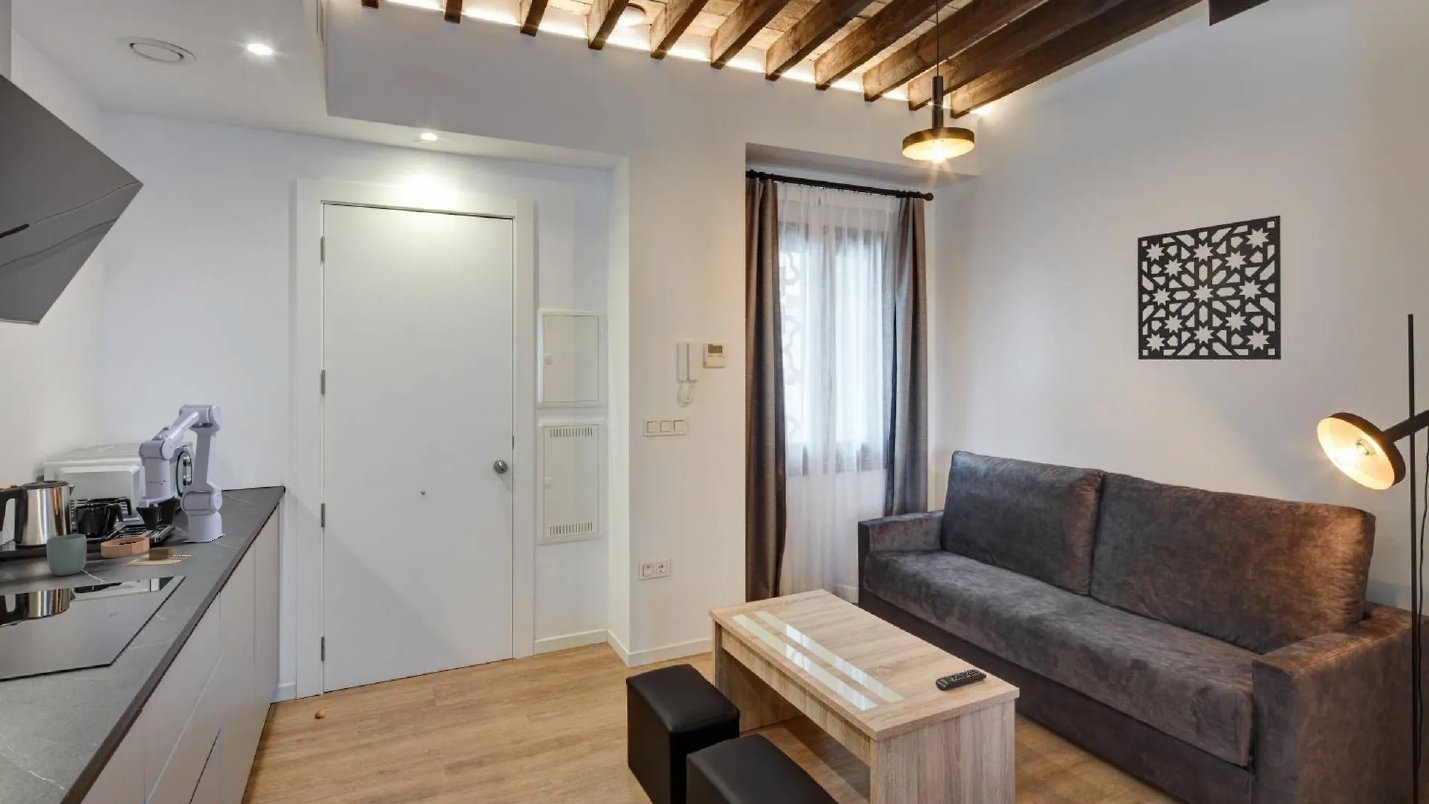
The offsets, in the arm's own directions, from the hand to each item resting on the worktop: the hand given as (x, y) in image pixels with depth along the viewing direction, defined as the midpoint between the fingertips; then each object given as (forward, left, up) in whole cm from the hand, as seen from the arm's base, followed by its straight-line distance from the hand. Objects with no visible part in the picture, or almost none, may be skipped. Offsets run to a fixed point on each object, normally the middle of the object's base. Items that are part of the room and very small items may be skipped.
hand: (159, 527), depth 202 cm
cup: (+12, -16, -10) cm, 22 cm away
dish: (-9, -15, -9) cm, 20 cm away
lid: (0, 0, -10) cm, 10 cm away
